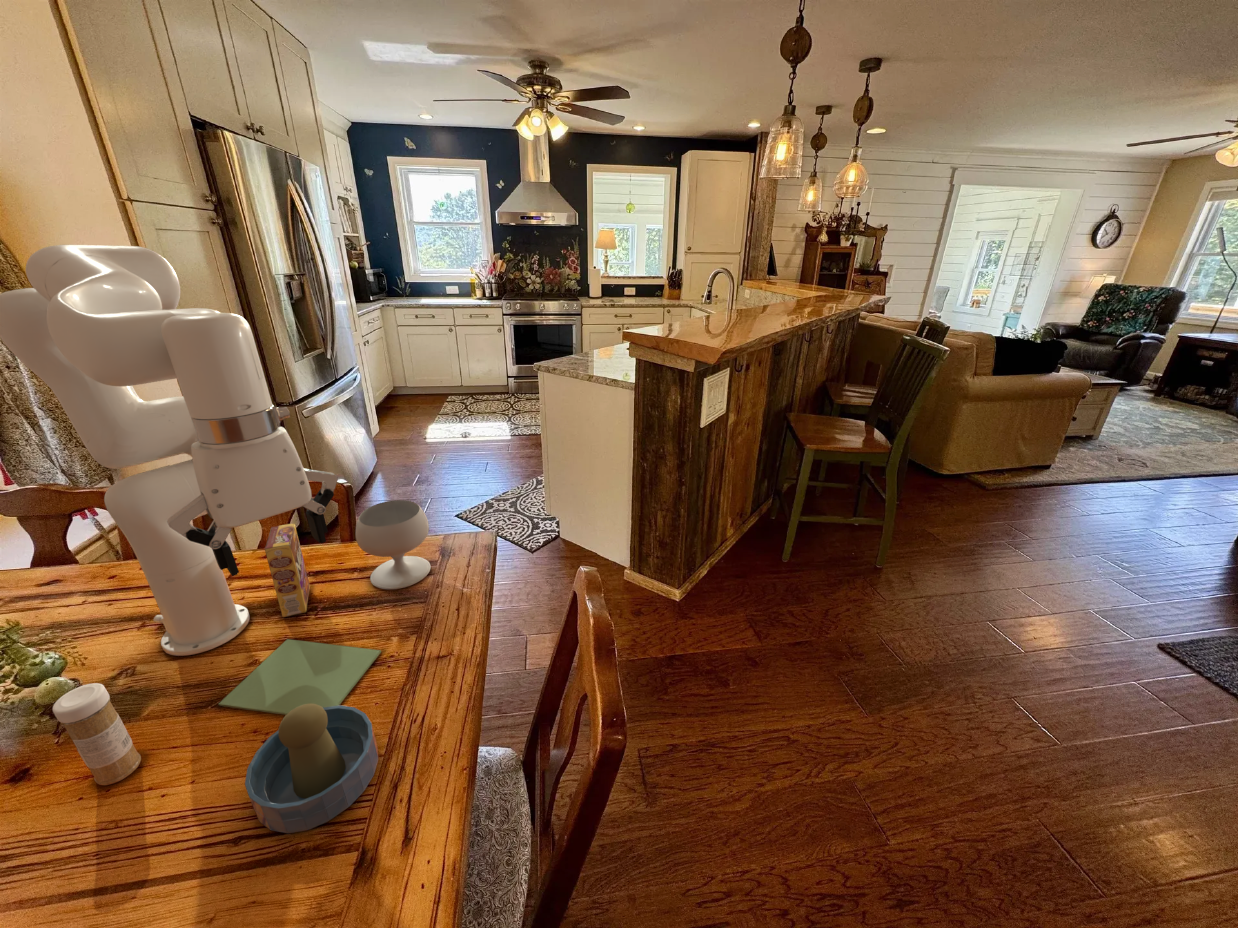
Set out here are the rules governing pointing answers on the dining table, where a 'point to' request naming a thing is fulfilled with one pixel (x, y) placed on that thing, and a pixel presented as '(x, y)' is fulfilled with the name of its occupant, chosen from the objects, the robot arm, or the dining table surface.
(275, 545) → the candy box
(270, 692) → the mat
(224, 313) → the robot arm
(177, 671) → the dining table surface
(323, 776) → the cork
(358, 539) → the chalice
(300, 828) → the bowl
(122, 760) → the sprinkles bottle
